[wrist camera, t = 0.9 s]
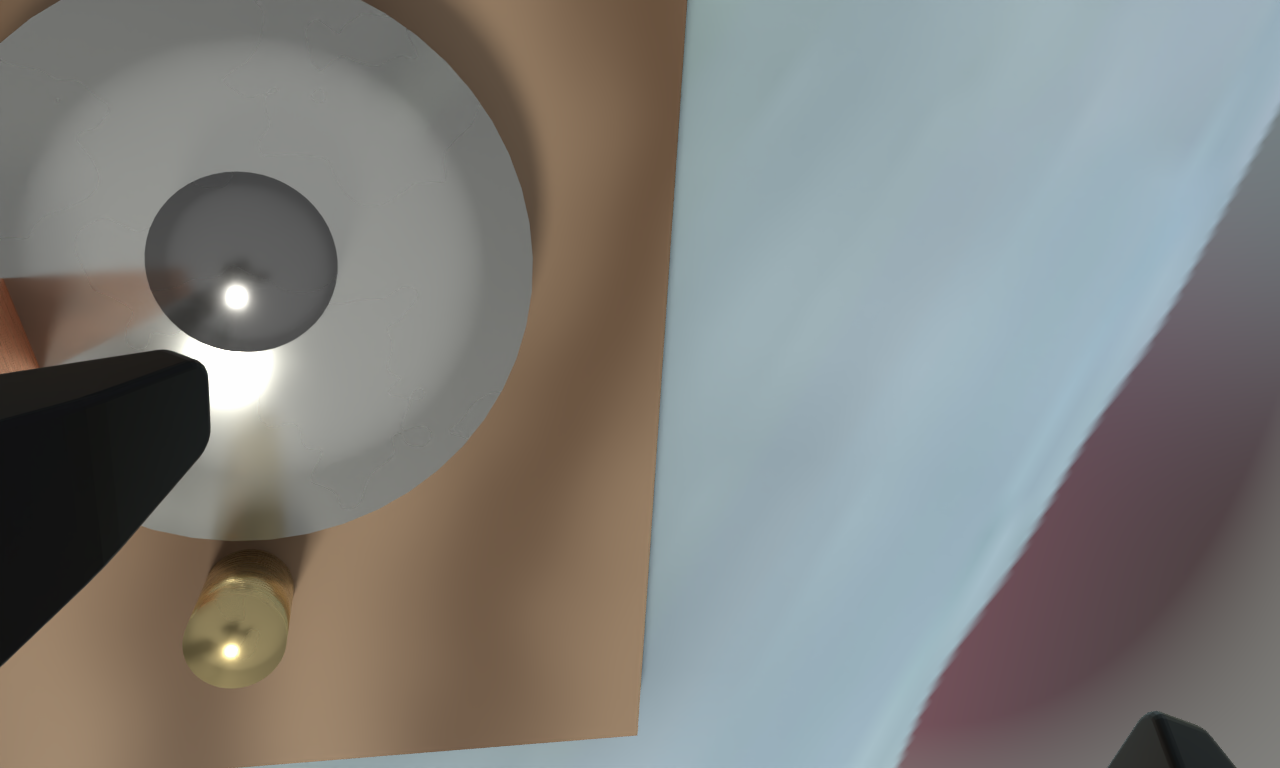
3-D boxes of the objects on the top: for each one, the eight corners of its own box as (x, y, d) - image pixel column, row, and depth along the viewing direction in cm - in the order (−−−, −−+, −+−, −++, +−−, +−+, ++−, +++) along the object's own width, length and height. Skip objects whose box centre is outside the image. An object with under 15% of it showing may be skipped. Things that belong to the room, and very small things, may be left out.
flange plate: (434, -70, 20) (453, -140, 17) (581, 427, 22) (626, 458, 19) (-358, 91, 17) (-543, 46, 13) (-91, 658, 19) (-188, 749, 15)
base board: (-231, 781, 20) (-260, 807, 19) (-267, -395, 17) (-303, -434, 16) (625, 717, 25) (637, 735, 24) (685, -187, 23) (701, -206, 22)
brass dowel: (203, 632, 21) (181, 691, 18) (204, 549, 21) (183, 596, 18) (292, 628, 21) (285, 685, 18) (294, 548, 21) (287, 593, 18)
